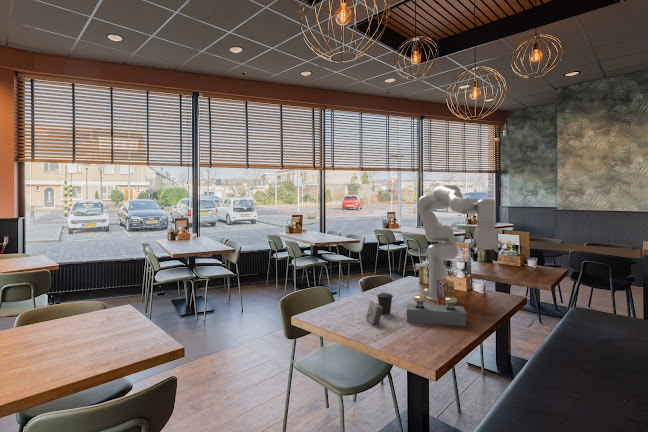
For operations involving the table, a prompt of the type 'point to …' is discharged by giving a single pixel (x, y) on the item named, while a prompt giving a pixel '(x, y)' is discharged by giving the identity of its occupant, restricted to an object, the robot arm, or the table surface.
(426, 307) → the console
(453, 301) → the knob
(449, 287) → the candy box
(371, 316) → the electrical switch
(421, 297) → the knob
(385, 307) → the coffee cup
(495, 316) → the table surface
